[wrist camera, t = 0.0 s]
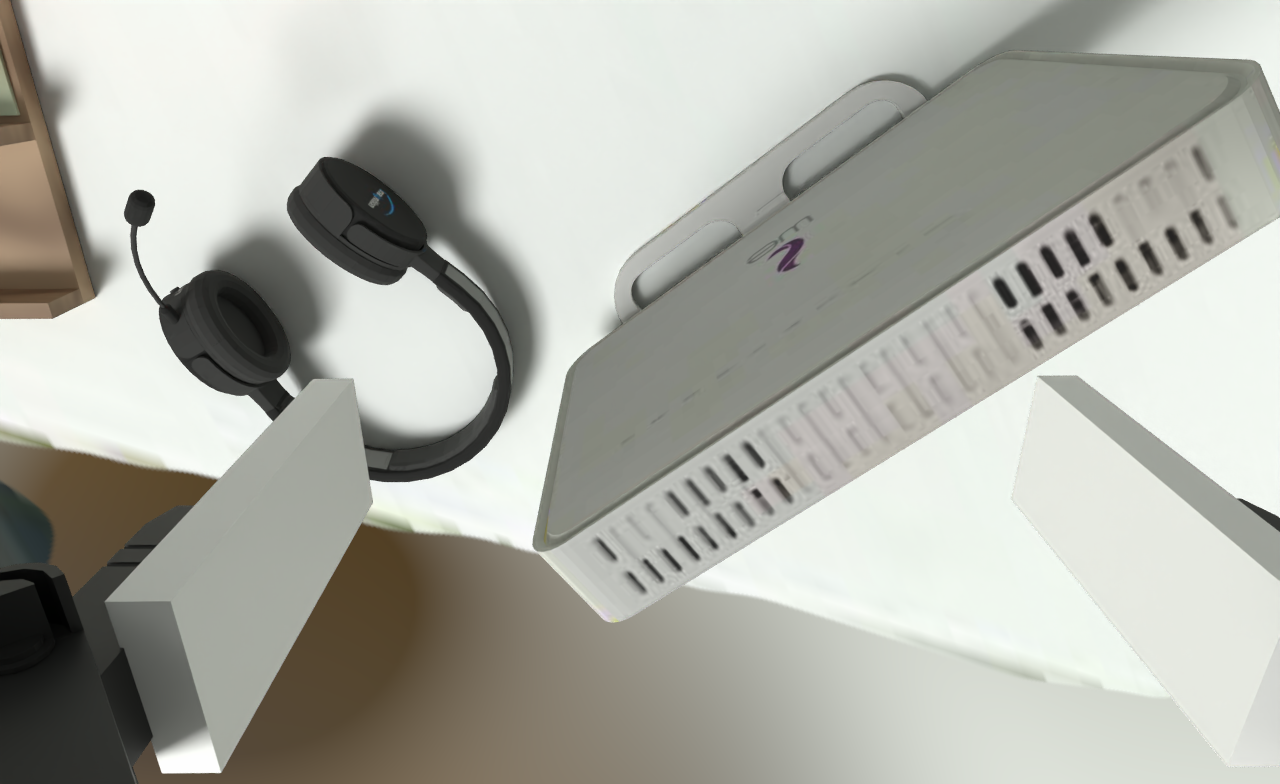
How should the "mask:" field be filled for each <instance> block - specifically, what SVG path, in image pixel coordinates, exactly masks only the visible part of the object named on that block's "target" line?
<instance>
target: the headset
mask: <svg viewBox="0 0 1280 784" xmlns="http://www.w3.org/2000/svg"><path fill="white" fill-rule="evenodd" d="M154 207H155V199H154V197H153V196H152V195H151V194H150V193H149V192H147V191H144V190H135V191H134V192H132V193H131V194H130V196H129V198H128V201H127V204H126V208H125V211H124V216H125V219H126V221H127V222H128V223H129V224H131V225H132V226H131V234H130V236H131V250H132V254H133V258H134V262H135V265H136V268H137V270H138V273H139V275H140V278H141V279H142V281H143V283H144V285H145V286H146V288H147V290H148V291H149V293H150V294H151V295H152V297H153V298H154V299H155V301H156V302H157V303H158V304H159V305H160V307H159V319H160V323H161V327H162V330H163V333H164V335H165V337H166V339H167V342H168V343H169V345H170V347H171V348H172V350H173V352H174V353H175V355H176V356H177V357H178V359H179V360H180V361H181V362H182V364H183V365H184V366H185V367H186V368H187V369H188V370H189V371H190V372H191V373H192V374H193V375H194V376H196V377H197V378H198V379H199V380H200V381H202V382H203V383H205V384H206V385H208V386H209V387H211V388H213V389H215V390H217V391H220V392H223V393H227V394H232V395H236V396H244V395H249V396H250V397H251V398H252V399H253V400H254V401H255V402H256V403H257V404H258V405H259V406H260V407H261V408H262V409H263V410H264V411H265V413H266V414H267V415H268V416H269V417H270V418H271V420H272V421H274V420H275V419H276V418H277V417H278V416H279V415H280V414H281V413H282V412H283V411H284V410H285V408H286V407H287V406H288V405H289V404H290V403H291V402H292V401H293V400H294V399H295V398H294V397H292V396H291V395H290V394H289V393H288V392H287V391H286V390H285V389H284V388H283V387H282V386H281V385H280V383H279V382H278V381H277V378H278V377H280V376H281V375H282V374H283V373H285V371H286V370H287V368H288V366H289V364H290V357H291V354H290V347H289V343H288V340H287V337H286V335H285V333H284V330H283V328H282V326H281V324H280V323H279V321H278V320H277V318H276V316H275V315H274V314H273V312H272V311H271V309H270V308H269V307H268V306H267V304H266V303H265V302H264V301H263V299H262V298H261V297H260V296H259V295H258V294H257V293H256V292H255V291H254V290H253V289H252V288H251V287H250V286H248V285H247V284H246V283H245V282H243V281H242V280H240V279H239V278H237V277H236V276H234V275H232V274H229V273H227V272H224V271H220V270H214V271H205V272H203V273H201V274H199V275H197V276H196V277H194V278H193V279H192V280H191V282H190V283H188V284H186V285H184V286H183V287H181V288H179V287H176V288H174V289H173V290H172V291H170V292H171V294H169V295H167V296H166V297H164V298H163V300H162V301H161V299H160V298H159V296H158V295H157V294H156V292H155V291H154V290H153V288H152V287H151V285H150V283H149V281H148V280H147V278H146V276H145V274H144V272H143V269H142V267H141V264H140V261H139V256H138V252H137V240H136V235H137V227H138V226H139V227H141V226H144V225H146V224H147V223H148V222H149V220H150V218H151V215H152V212H153V209H154ZM287 211H288V214H289V216H290V218H291V220H292V222H293V223H294V225H295V226H296V228H297V229H298V230H299V231H300V233H301V234H302V235H303V236H304V237H305V238H306V239H307V240H308V241H309V242H310V243H311V244H312V245H313V246H314V247H315V248H316V249H317V250H318V251H320V252H321V253H322V254H323V255H324V256H326V257H327V258H328V259H330V260H331V261H332V262H334V263H335V264H337V265H338V266H340V267H341V268H343V269H344V270H346V271H348V272H350V273H351V274H353V275H355V276H357V277H359V278H361V279H364V280H366V281H369V282H372V283H375V284H379V285H389V284H393V283H395V282H397V281H399V280H400V279H401V278H402V276H403V275H404V274H405V273H406V271H407V267H413V268H414V269H416V270H417V271H419V272H420V273H422V274H423V275H425V276H426V277H427V278H429V279H430V280H431V281H433V283H434V284H436V285H437V288H438V289H439V291H441V292H442V293H443V294H445V295H446V296H447V297H449V298H450V299H451V300H452V301H454V302H455V303H456V304H457V305H458V306H459V307H460V308H461V309H462V310H464V311H467V312H469V313H470V314H471V316H472V317H473V318H474V320H475V321H476V322H477V324H478V325H479V326H480V327H481V329H482V330H483V332H484V334H485V336H486V338H487V340H488V342H489V344H490V346H491V348H492V351H493V355H494V359H495V363H496V367H497V376H496V377H495V379H494V382H493V387H492V391H491V393H490V395H489V398H488V400H487V402H486V404H485V406H484V408H483V409H482V410H481V412H480V413H479V414H478V416H477V417H476V418H475V419H474V420H473V421H472V422H471V423H470V424H469V425H468V426H467V427H465V428H464V429H463V430H462V431H460V432H458V433H457V434H455V435H453V436H452V437H450V438H448V439H446V440H443V441H441V442H438V443H435V444H433V445H430V446H425V447H420V448H415V449H400V450H386V449H379V448H372V447H368V446H365V445H364V449H365V455H366V461H367V468H368V474H369V480H375V481H381V482H411V481H417V480H423V479H429V478H433V477H435V476H438V475H441V474H444V473H447V472H450V471H452V470H454V469H455V468H457V467H459V466H461V465H462V464H464V463H466V462H468V461H469V460H471V459H472V458H473V457H474V456H475V455H477V454H478V453H479V452H480V451H481V450H482V449H483V448H485V447H486V446H487V444H488V443H489V442H490V440H491V439H492V438H493V436H494V435H495V434H496V432H497V431H498V430H499V427H500V425H501V423H502V421H503V418H504V416H505V414H506V412H507V408H508V403H509V398H510V392H511V386H512V379H513V350H512V346H511V342H510V338H509V334H508V330H507V328H506V326H505V324H504V322H503V320H502V318H501V316H500V314H499V312H498V310H497V309H496V307H495V306H494V305H493V303H492V302H491V301H490V299H489V298H488V297H487V295H486V294H485V293H484V291H483V290H481V289H480V288H479V287H478V286H477V285H476V284H475V283H474V282H473V281H472V280H470V279H469V278H468V277H467V276H466V275H465V274H464V273H462V272H461V271H460V270H458V269H457V268H456V267H454V266H453V265H452V264H450V263H449V262H448V261H446V260H444V259H443V258H442V257H440V256H439V255H438V254H437V253H436V252H434V251H433V250H432V249H431V248H430V247H429V246H428V245H427V242H426V239H427V233H426V229H425V228H424V226H423V224H422V222H421V221H420V219H419V218H418V217H417V215H416V214H415V213H414V212H413V211H412V209H411V208H410V207H409V206H408V205H407V204H406V203H405V202H404V201H403V200H402V199H401V198H400V197H399V196H398V195H397V194H395V193H394V192H393V191H392V190H391V189H390V188H388V187H387V186H386V185H385V184H383V183H382V182H381V181H379V180H378V179H377V178H375V177H374V176H372V175H371V174H369V173H368V172H366V171H364V170H363V169H361V168H359V167H357V166H355V165H354V164H352V163H349V162H347V161H345V160H342V159H338V158H332V157H323V158H321V159H320V160H319V161H318V162H317V164H316V165H315V166H314V168H313V169H312V170H311V172H310V173H309V174H308V175H307V177H306V178H305V179H304V181H303V182H302V184H301V185H299V186H297V187H295V189H294V190H293V191H292V192H291V194H290V196H289V197H288V201H287Z"/></svg>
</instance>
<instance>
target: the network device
mask: <svg viewBox="0 0 1280 784" xmlns="http://www.w3.org/2000/svg"><path fill="white" fill-rule="evenodd" d="M879 100H886V101H889V102H891V103H892V104H894V105H895V106H896V108H897V109H898V110H899V112H900V114H901V115H902V117H903V120H901V121H900V122H899V123H897V124H896V125H894V126H893V127H892V128H890V129H889V130H888V131H886V132H885V133H883V134H882V135H881V136H879V137H878V138H877V139H875V140H874V141H873V142H871V143H870V144H868V145H867V146H866V147H864V148H863V149H862V150H860V151H859V152H857V153H856V154H855V155H853V156H852V157H851V158H849V159H848V160H847V161H845V162H844V163H842V164H841V165H840V166H838V167H837V168H836V169H834V170H833V171H831V172H830V173H829V174H827V175H826V176H825V177H823V178H822V179H821V180H819V181H818V182H816V183H815V184H814V185H812V186H811V187H810V188H808V189H807V190H805V191H804V192H803V193H801V194H800V195H799V196H797V197H796V198H794V199H793V200H792V201H790V200H789V198H788V197H787V196H786V194H785V192H784V190H783V186H782V179H783V174H784V172H785V170H786V168H787V166H788V165H789V164H790V163H791V162H792V161H793V160H794V159H796V158H797V157H798V156H800V155H801V154H802V153H804V152H805V151H806V150H808V149H809V148H810V147H812V146H813V145H814V144H816V143H817V142H818V141H820V140H821V139H822V138H824V137H825V136H827V135H828V134H829V133H831V132H832V131H833V130H835V129H836V128H837V127H839V126H840V125H841V124H843V123H844V122H845V121H847V120H848V119H849V118H851V117H852V116H853V115H855V114H856V113H857V112H859V111H860V110H861V109H863V108H864V107H865V106H867V105H869V104H870V103H872V102H875V101H879ZM1279 217H1280V112H1279V109H1278V107H1277V104H1276V102H1275V100H1274V97H1273V95H1272V92H1271V90H1270V88H1269V85H1268V83H1267V80H1266V78H1265V76H1264V73H1263V71H1262V68H1261V66H1260V64H1259V63H1257V62H1256V61H1252V60H1242V59H1217V58H1192V57H1168V56H1143V55H1119V54H1094V53H1069V52H1045V51H1020V50H1011V51H1007V52H1003V53H1001V54H998V55H996V56H994V57H992V58H990V59H988V60H986V61H984V62H983V63H981V64H979V65H978V66H976V67H974V68H973V69H971V70H970V71H969V72H967V73H966V74H964V75H963V76H962V77H960V78H959V79H957V80H956V81H955V82H953V83H952V84H951V85H949V86H948V87H946V88H945V89H944V90H942V91H941V92H940V93H938V94H937V95H936V96H934V97H933V98H931V99H930V100H929V101H927V99H926V98H925V97H924V96H923V95H922V94H921V93H920V92H918V91H917V90H916V89H915V88H913V87H911V86H908V85H906V84H904V83H901V82H895V81H888V80H880V81H871V82H868V83H865V84H862V85H859V86H857V87H856V88H854V89H852V90H851V91H849V92H847V93H846V94H845V95H843V96H842V97H841V98H839V99H838V100H837V101H835V102H834V103H833V104H831V105H830V106H829V107H827V108H826V109H825V110H823V111H822V112H821V113H819V114H818V115H817V116H815V117H814V118H813V119H811V120H810V121H809V122H807V123H806V124H805V125H804V126H802V127H801V128H800V129H798V130H797V131H796V132H794V133H793V134H792V135H790V136H789V137H788V138H786V139H785V140H784V141H782V142H781V143H780V144H778V145H777V146H776V147H774V148H773V149H772V150H770V151H769V152H768V153H766V154H765V155H764V156H762V157H761V158H760V159H758V160H757V161H756V162H754V163H753V164H752V165H750V166H749V167H748V168H746V169H745V170H744V171H742V172H741V173H740V174H739V175H737V176H736V177H735V178H733V179H732V180H731V181H729V182H728V183H727V184H725V185H724V186H723V187H721V188H720V189H719V190H717V191H716V192H715V193H713V194H712V195H711V196H709V197H708V198H707V199H705V200H704V201H703V202H701V203H700V204H699V205H697V206H696V207H695V208H693V209H692V210H691V211H689V212H688V213H687V214H685V215H684V216H683V217H681V218H680V219H679V220H678V221H676V222H675V223H674V224H672V225H671V226H670V227H668V228H667V229H666V230H664V231H663V232H662V233H660V234H659V235H658V236H656V237H655V238H654V239H652V240H651V241H650V242H648V243H647V244H646V245H644V246H643V247H642V248H640V249H639V250H638V251H636V252H635V253H634V254H633V255H632V256H631V257H630V258H629V259H628V260H627V261H626V262H625V264H624V265H623V267H622V268H621V269H620V272H619V274H618V277H617V280H616V284H615V292H614V300H615V308H616V311H617V314H618V316H619V319H620V321H621V322H622V325H621V326H619V327H618V328H616V329H615V330H614V331H612V332H611V333H610V334H608V335H607V336H606V337H604V338H603V339H601V340H600V341H599V342H597V343H596V344H595V345H593V346H592V347H591V348H589V349H588V350H587V351H586V352H585V353H583V354H582V355H581V356H580V357H579V358H578V359H577V360H576V361H575V362H574V364H573V365H572V366H571V367H570V369H569V370H568V372H567V375H566V379H565V384H564V389H563V394H562V399H561V404H560V409H559V413H558V418H557V423H556V428H555V433H554V438H553V443H552V448H551V453H550V458H549V463H548V468H547V472H546V477H545V482H544V487H543V492H542V497H541V502H540V507H539V512H538V517H537V522H536V526H535V531H534V536H533V547H534V549H535V550H536V551H537V552H538V553H539V554H540V555H541V556H542V557H543V558H544V559H545V560H546V561H547V562H548V563H549V564H550V566H552V568H553V569H554V570H555V571H556V572H557V573H558V574H559V575H560V576H561V577H562V578H563V579H564V580H565V581H566V582H567V583H568V584H569V585H570V586H571V587H572V588H573V589H574V590H575V591H576V592H577V593H578V594H579V595H580V596H581V597H582V598H583V599H584V600H585V601H586V602H587V603H588V604H589V605H590V606H591V607H592V608H593V609H594V610H595V611H596V612H597V613H598V614H599V615H600V617H602V618H603V619H604V620H605V621H608V622H619V621H622V620H625V619H628V618H630V617H632V616H634V615H635V614H637V613H639V612H640V611H642V610H644V609H645V608H647V607H648V606H650V605H652V604H653V603H655V602H657V601H658V600H660V599H661V598H663V597H664V596H666V595H668V594H669V593H671V592H673V591H674V590H676V589H677V588H679V587H681V586H683V585H684V584H686V583H687V582H689V581H691V580H692V579H694V578H696V577H697V576H699V575H700V574H702V573H704V572H705V571H707V570H708V569H710V568H712V567H713V566H715V565H717V564H718V563H720V562H721V561H723V560H725V559H726V558H728V557H730V556H731V555H733V554H734V553H736V552H738V551H739V550H741V549H743V548H744V547H746V546H747V545H749V544H751V543H752V542H754V541H756V540H757V539H759V538H760V537H762V536H764V535H765V534H767V533H768V532H770V531H772V530H773V529H775V528H777V527H778V526H780V525H781V524H783V523H785V522H786V521H788V520H790V519H791V518H793V517H794V516H796V515H798V514H799V513H801V512H803V511H804V510H806V509H807V508H809V507H811V506H812V505H814V504H816V503H817V502H819V501H820V500H822V499H824V498H825V497H827V496H828V495H830V494H832V493H833V492H835V491H837V490H838V489H840V488H841V487H843V486H845V485H846V484H848V483H850V482H851V481H853V480H854V479H856V478H858V477H859V476H861V475H863V474H864V473H866V472H867V471H869V470H871V469H872V468H874V467H876V466H877V465H879V464H880V463H882V462H884V461H885V460H887V459H888V458H890V457H892V456H893V455H895V454H897V453H898V452H900V451H901V450H903V449H905V448H906V447H908V446H910V445H911V444H913V443H914V442H916V441H918V440H919V439H921V438H923V437H924V436H926V435H927V434H929V433H931V432H932V431H934V430H936V429H937V428H939V427H940V426H942V425H944V424H945V423H947V422H948V421H950V420H952V419H953V418H955V417H957V416H958V415H960V414H961V413H963V412H965V411H966V410H968V409H970V408H971V407H973V406H974V405H976V404H978V403H979V402H981V401H983V400H984V399H986V398H987V397H989V396H991V395H992V394H994V393H996V392H997V391H999V390H1000V389H1002V388H1004V387H1005V386H1007V385H1008V384H1010V383H1012V382H1013V381H1015V380H1017V379H1018V378H1020V377H1021V376H1023V375H1025V374H1026V373H1028V372H1030V371H1031V370H1033V369H1034V368H1036V367H1038V366H1039V365H1041V364H1043V363H1044V362H1046V361H1047V360H1049V359H1051V358H1052V357H1054V356H1055V355H1057V354H1059V353H1060V352H1062V351H1064V350H1065V349H1067V348H1068V347H1070V346H1072V345H1073V344H1075V343H1077V342H1078V341H1080V340H1081V339H1083V338H1085V337H1086V336H1088V335H1090V334H1091V333H1093V332H1094V331H1096V330H1098V329H1099V328H1101V327H1103V326H1104V325H1106V324H1107V323H1109V322H1111V321H1112V320H1114V319H1115V318H1117V317H1119V316H1120V315H1122V314H1124V313H1125V312H1127V311H1128V310H1130V309H1132V308H1133V307H1135V306H1137V305H1138V304H1140V303H1141V302H1143V301H1145V300H1146V299H1148V298H1150V297H1151V296H1153V295H1154V294H1156V293H1158V292H1159V291H1161V290H1163V289H1164V288H1166V287H1167V286H1169V285H1171V284H1172V283H1174V282H1175V281H1177V280H1179V279H1180V278H1182V277H1184V276H1185V275H1187V274H1188V273H1190V272H1192V271H1193V270H1195V269H1197V268H1198V267H1200V266H1201V265H1203V264H1205V263H1206V262H1208V261H1210V260H1211V259H1213V258H1214V257H1216V256H1218V255H1219V254H1221V253H1223V252H1224V251H1226V250H1227V249H1229V248H1231V247H1232V246H1234V245H1235V244H1237V243H1239V242H1240V241H1242V240H1244V239H1245V238H1247V237H1248V236H1250V235H1252V234H1253V233H1255V232H1257V231H1258V230H1260V229H1261V228H1263V227H1265V226H1266V225H1268V224H1270V223H1271V222H1273V221H1274V220H1276V219H1278V218H1279ZM714 221H726V222H729V223H731V224H733V225H734V226H736V227H737V229H738V230H739V231H740V232H741V234H742V235H743V236H742V237H741V238H740V239H738V240H737V241H736V242H734V243H733V244H732V245H730V246H729V247H727V248H726V249H725V250H723V251H722V252H721V253H719V254H718V255H716V256H715V257H714V258H712V259H711V260H710V261H708V262H707V263H705V264H704V265H703V266H701V267H700V268H699V269H697V270H696V271H695V272H693V273H692V274H690V275H689V276H688V277H686V278H685V279H684V280H682V281H681V282H679V283H678V284H677V285H675V286H674V287H673V288H671V289H670V290H669V291H667V292H666V293H664V294H663V295H662V296H660V297H659V298H658V299H656V300H655V301H653V302H652V303H651V304H649V305H648V306H647V307H645V308H644V309H643V310H642V309H641V308H640V307H639V306H638V304H637V303H636V302H635V300H634V299H633V296H632V293H631V288H632V285H633V282H634V281H635V279H636V278H637V277H638V276H639V275H640V274H641V273H642V272H644V271H645V270H646V269H648V268H649V267H651V266H652V265H653V264H655V263H656V262H657V261H659V260H660V259H661V258H663V257H664V256H665V255H667V254H668V253H669V252H671V251H672V250H673V249H675V248H676V247H677V246H679V245H680V244H681V243H683V242H684V241H685V240H687V239H688V238H689V237H691V236H692V235H694V234H695V233H696V232H698V231H699V230H700V229H702V228H703V227H704V226H706V225H707V224H709V223H711V222H714Z"/></svg>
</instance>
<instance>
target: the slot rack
mask: <svg viewBox="0 0 1280 784" xmlns="http://www.w3.org/2000/svg"><path fill="white" fill-rule="evenodd" d="M94 298H95V294H94V291H93V287H92V284H91V280H90V277H89V273H88V270H87V266H86V263H85V259H84V256H83V252H82V249H81V245H80V242H79V238H78V235H77V231H76V228H75V224H74V221H73V217H72V214H71V210H70V207H69V203H68V200H67V196H66V193H65V189H64V186H63V183H62V179H61V176H60V172H59V169H58V165H57V162H56V158H55V155H54V151H53V148H52V144H51V141H50V137H49V134H48V130H47V127H46V123H45V120H44V116H43V113H42V109H41V106H40V102H39V99H38V95H37V92H36V88H35V85H34V81H33V78H32V75H31V71H30V68H29V64H28V61H27V57H26V54H25V50H24V47H23V43H22V40H21V36H20V33H19V29H18V26H17V22H16V19H15V15H14V12H13V8H12V5H11V1H10V0H0V319H53V318H55V317H57V316H59V315H61V314H63V313H65V312H67V311H69V310H71V309H73V308H76V307H78V306H80V305H82V304H84V303H86V302H88V301H90V300H92V299H94Z"/></svg>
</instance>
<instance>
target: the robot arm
mask: <svg viewBox="0 0 1280 784" xmlns="http://www.w3.org/2000/svg"><path fill="white" fill-rule="evenodd" d="M1011 500H1012V501H1013V503H1014V504H1015V505H1016V506H1017V508H1018V509H1019V510H1020V511H1021V512H1022V514H1023V515H1024V516H1025V517H1026V519H1027V520H1028V521H1029V522H1030V524H1031V525H1032V526H1033V527H1034V529H1035V530H1036V531H1037V532H1038V534H1039V535H1040V536H1041V537H1042V538H1043V540H1044V541H1045V542H1046V543H1047V545H1048V546H1049V547H1050V548H1051V550H1052V551H1053V552H1054V553H1055V555H1056V556H1057V557H1058V558H1059V559H1060V561H1061V562H1062V563H1063V564H1064V566H1065V567H1066V568H1067V569H1068V571H1069V572H1070V573H1071V574H1072V576H1073V577H1074V578H1075V579H1076V580H1077V582H1078V583H1079V584H1080V585H1081V587H1082V588H1083V589H1084V590H1085V592H1086V593H1087V594H1088V595H1089V597H1090V598H1091V599H1092V600H1093V602H1094V603H1095V604H1096V605H1097V606H1098V608H1099V609H1100V610H1101V611H1102V613H1103V614H1104V615H1105V616H1106V618H1107V619H1108V620H1109V621H1110V623H1111V624H1112V625H1113V626H1114V627H1115V629H1116V630H1117V631H1118V632H1119V634H1120V635H1121V636H1122V637H1123V639H1124V640H1125V641H1126V642H1127V644H1128V645H1129V646H1130V647H1131V648H1132V650H1133V651H1134V652H1135V653H1136V655H1137V656H1138V657H1139V658H1140V660H1141V661H1142V662H1143V663H1144V665H1145V666H1146V667H1147V668H1148V670H1149V671H1150V672H1151V673H1152V674H1153V676H1154V677H1155V678H1156V679H1157V681H1158V682H1159V683H1160V684H1161V686H1162V687H1163V688H1164V689H1165V691H1166V692H1167V693H1168V694H1169V695H1170V697H1171V698H1172V699H1173V700H1174V702H1175V703H1176V704H1177V705H1178V707H1179V708H1180V709H1181V710H1182V711H1183V713H1184V714H1185V715H1186V716H1187V718H1188V719H1189V720H1190V721H1191V723H1192V724H1193V725H1194V726H1195V728H1196V729H1197V730H1198V731H1199V733H1200V734H1201V735H1202V736H1203V737H1204V739H1205V740H1206V741H1207V742H1208V744H1209V745H1210V746H1211V747H1212V749H1213V750H1214V751H1215V752H1216V754H1217V755H1218V756H1219V757H1220V759H1221V760H1222V761H1223V762H1224V763H1225V765H1226V766H1227V767H1260V766H1262V767H1265V766H1280V518H1279V517H1278V516H1276V515H1274V514H1272V513H1270V512H1268V511H1266V510H1264V509H1262V508H1259V507H1257V506H1255V505H1253V504H1251V503H1249V502H1247V501H1245V500H1243V499H1236V498H1235V497H1234V496H1232V495H1231V494H1230V493H1228V492H1227V491H1226V490H1225V489H1223V488H1222V487H1221V486H1219V485H1218V484H1217V483H1216V482H1214V481H1213V480H1212V479H1210V478H1209V477H1208V476H1206V475H1205V474H1204V473H1203V472H1201V471H1200V470H1199V469H1197V468H1196V467H1195V466H1193V465H1192V464H1191V463H1190V462H1188V461H1187V460H1186V459H1184V458H1183V457H1182V456H1180V455H1179V454H1178V453H1177V452H1175V451H1174V450H1173V449H1171V448H1170V447H1169V446H1168V445H1166V444H1165V443H1164V442H1162V441H1161V440H1160V439H1158V438H1157V437H1156V436H1155V435H1153V434H1152V433H1151V432H1149V431H1148V430H1147V429H1145V428H1144V427H1143V426H1142V425H1140V424H1139V423H1138V422H1136V421H1135V420H1134V419H1133V418H1131V417H1130V416H1129V415H1127V414H1126V413H1125V412H1123V411H1122V410H1121V409H1120V408H1118V407H1117V406H1116V405H1114V404H1113V403H1112V402H1110V401H1109V400H1108V399H1107V398H1105V397H1104V396H1103V395H1101V394H1100V393H1099V392H1098V391H1096V390H1095V389H1094V388H1092V387H1091V386H1090V385H1088V384H1087V383H1086V382H1085V381H1083V380H1082V379H1081V378H1079V377H1078V376H1037V379H1036V384H1035V389H1034V393H1033V398H1032V403H1031V407H1030V412H1029V417H1028V421H1027V426H1026V431H1025V435H1024V440H1023V445H1022V449H1021V454H1020V459H1019V463H1018V468H1017V473H1016V477H1015V482H1014V487H1013V491H1012V496H1011ZM372 503H373V499H372V493H371V487H370V480H369V474H368V468H367V461H366V455H365V449H364V443H363V436H362V430H361V424H360V417H359V411H358V405H357V398H356V392H355V386H354V380H353V379H313V380H312V381H311V382H310V383H309V384H308V385H307V386H306V387H305V388H304V389H303V390H302V391H301V392H300V394H299V395H298V396H297V397H296V398H295V399H294V400H293V401H292V402H291V403H290V404H289V405H288V406H287V407H286V408H285V410H284V411H283V412H282V413H281V414H280V415H279V416H278V417H277V418H276V419H275V420H274V421H273V422H272V423H271V424H270V426H269V427H268V428H267V429H266V430H265V431H264V432H263V433H262V434H261V435H260V436H259V437H258V438H257V439H256V441H255V442H254V443H253V444H252V445H251V446H250V447H249V448H248V449H247V450H246V451H245V452H244V453H243V454H242V455H241V457H240V458H239V459H238V460H237V461H236V462H235V463H234V464H233V465H232V466H231V467H230V468H229V469H228V470H227V471H226V473H225V474H224V475H223V476H222V477H221V478H220V479H219V480H218V481H217V482H216V483H215V484H214V485H213V486H212V488H211V489H210V490H209V491H208V492H207V493H206V494H205V495H204V496H203V497H202V498H201V499H200V500H199V501H198V502H197V503H196V505H195V506H176V507H174V508H172V509H171V510H169V511H167V512H165V513H164V514H162V515H160V516H159V517H157V518H155V519H153V520H152V521H150V522H148V523H147V524H145V525H144V526H143V527H142V528H141V529H140V530H139V531H138V532H137V533H136V534H135V535H134V536H133V537H132V538H131V539H130V540H129V541H128V542H127V543H126V544H125V548H124V549H120V550H119V551H118V552H117V553H116V554H115V555H114V556H113V557H112V558H111V559H110V560H109V561H108V562H107V567H102V568H101V569H100V570H99V571H98V572H97V573H96V574H95V575H94V576H93V577H92V578H91V579H90V580H89V581H88V582H87V583H86V584H85V585H84V586H83V587H82V588H81V589H80V590H79V591H78V592H77V593H76V594H75V595H74V596H73V597H72V595H71V592H70V589H69V586H68V583H67V581H66V578H65V575H64V574H63V572H62V571H61V570H59V568H57V566H54V565H49V564H44V563H25V564H15V565H11V566H7V567H2V568H0V784H138V781H137V778H136V775H135V772H134V770H133V765H134V764H135V762H136V761H137V759H138V758H139V756H140V755H141V754H142V752H143V751H144V749H145V748H146V746H147V745H148V743H149V742H150V740H151V742H152V745H153V747H154V751H155V754H156V757H157V760H158V762H159V766H160V769H161V771H162V773H221V772H222V770H223V768H224V767H225V765H226V763H227V761H228V759H229V758H230V756H231V754H232V752H233V751H234V749H235V747H236V745H237V744H238V742H239V740H240V738H241V736H242V735H243V733H244V731H245V729H246V727H247V726H248V724H249V722H250V720H251V719H252V717H253V715H254V713H255V711H256V710H257V708H258V706H259V704H260V703H261V701H262V699H263V697H264V695H265V694H266V692H267V690H268V688H269V686H270V685H271V683H272V681H273V679H274V678H275V676H276V674H277V672H278V671H279V669H280V667H281V665H282V663H283V662H284V660H285V658H286V656H287V654H288V653H289V651H290V649H291V647H292V645H293V644H294V642H295V640H296V638H297V637H298V635H299V633H300V631H301V630H302V627H303V626H304V624H305V622H306V621H307V619H308V617H309V615H310V614H311V612H312V610H313V608H314V606H315V605H316V603H317V601H318V599H319V597H320V596H321V594H322V592H323V590H324V589H325V587H326V585H327V583H328V581H329V580H330V578H331V576H332V574H333V573H334V571H335V569H336V567H337V565H338V564H339V562H340V560H341V558H342V557H343V555H344V553H345V551H346V549H347V548H348V546H349V544H350V542H351V541H352V539H353V537H354V535H355V533H356V532H357V530H358V528H359V526H360V525H361V523H362V521H363V519H364V517H365V516H366V514H367V512H368V510H369V508H370V507H371V505H372Z"/></svg>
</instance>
